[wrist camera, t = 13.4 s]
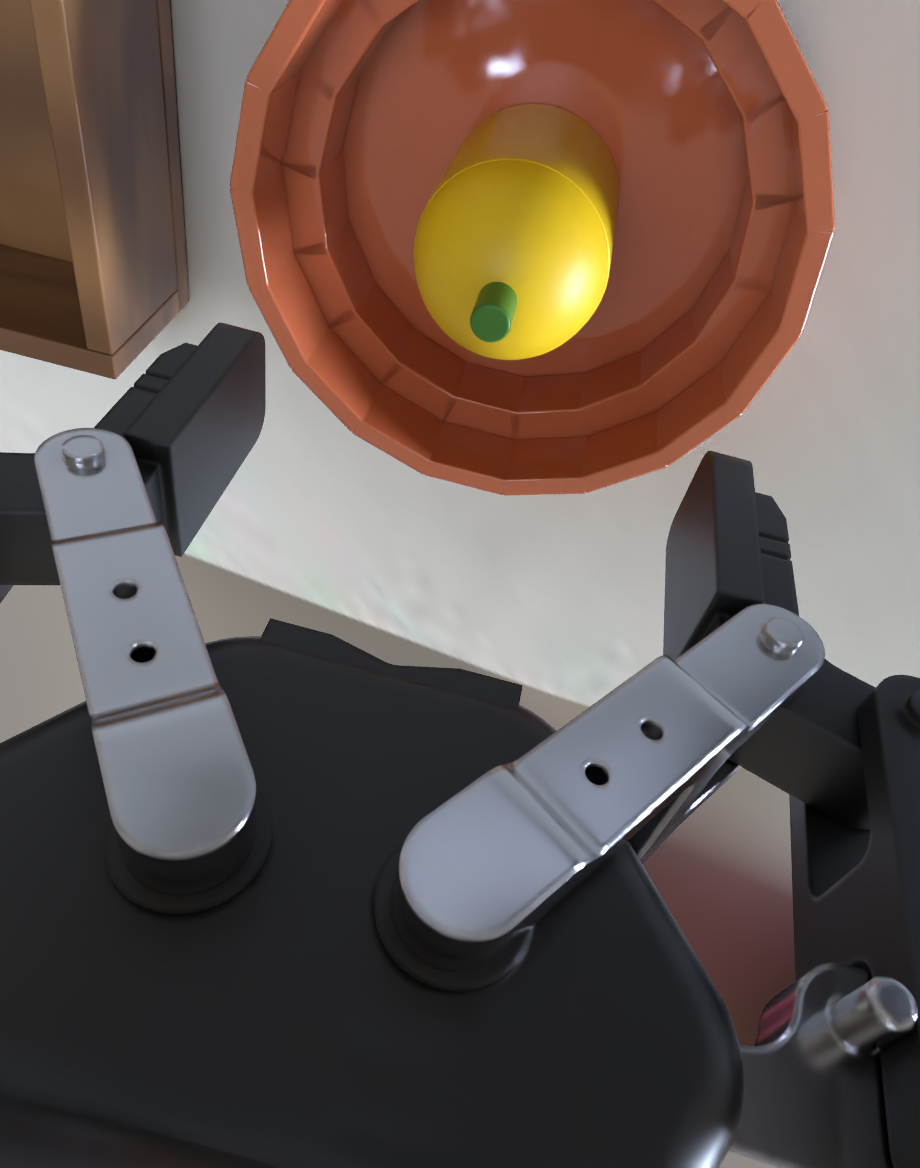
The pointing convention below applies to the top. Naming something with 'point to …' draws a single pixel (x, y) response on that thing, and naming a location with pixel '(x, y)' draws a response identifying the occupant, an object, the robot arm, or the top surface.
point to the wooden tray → (88, 181)
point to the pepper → (519, 233)
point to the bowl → (641, 240)
